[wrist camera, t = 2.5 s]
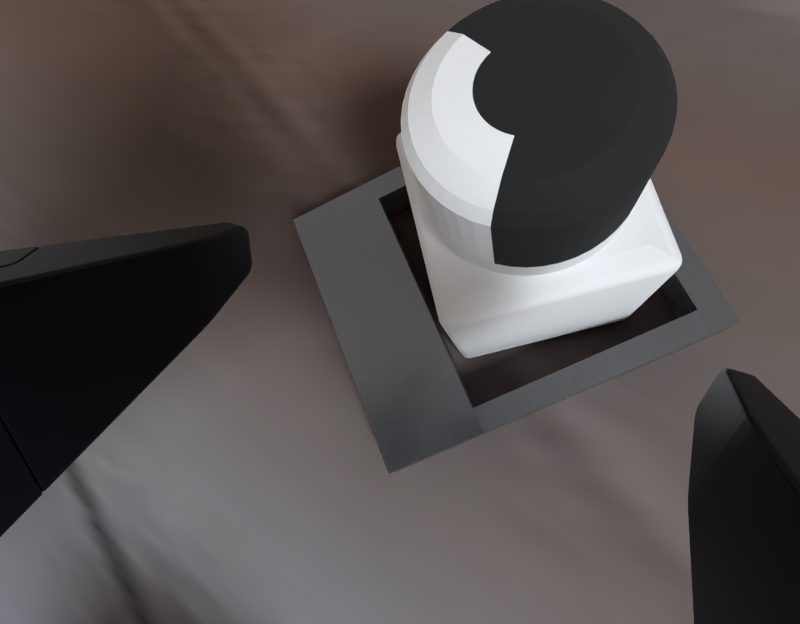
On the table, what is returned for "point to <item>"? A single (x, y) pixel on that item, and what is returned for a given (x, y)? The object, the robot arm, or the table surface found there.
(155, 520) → the table surface
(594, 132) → the medicine bottle
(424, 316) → the grey square frame
